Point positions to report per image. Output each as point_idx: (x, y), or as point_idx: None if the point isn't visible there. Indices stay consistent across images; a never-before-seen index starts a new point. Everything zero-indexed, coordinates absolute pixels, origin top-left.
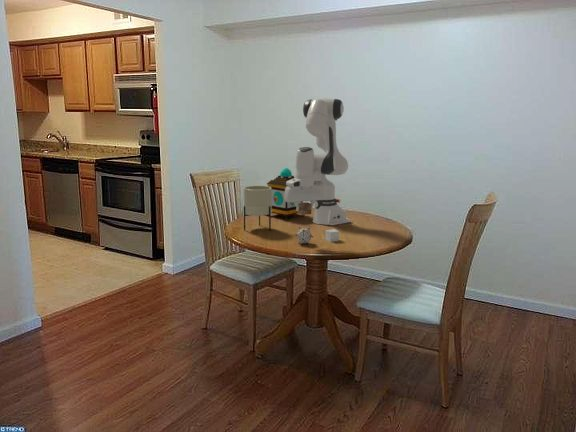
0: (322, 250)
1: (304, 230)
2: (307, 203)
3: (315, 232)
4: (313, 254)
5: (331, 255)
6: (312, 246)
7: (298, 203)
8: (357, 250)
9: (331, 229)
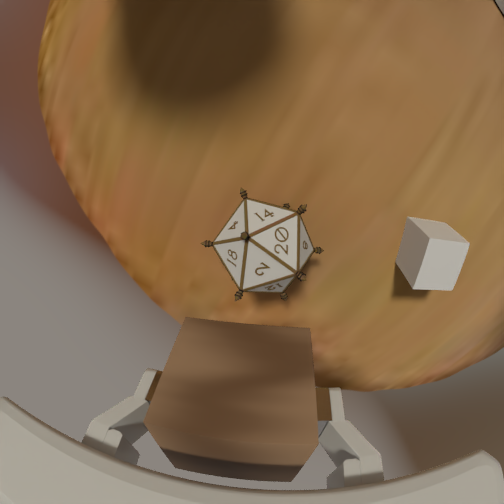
0: None
1: (249, 289)
2: (259, 472)
3: (441, 78)
4: None
5: None
6: None
7: (136, 456)
8: (378, 371)
9: (457, 243)
